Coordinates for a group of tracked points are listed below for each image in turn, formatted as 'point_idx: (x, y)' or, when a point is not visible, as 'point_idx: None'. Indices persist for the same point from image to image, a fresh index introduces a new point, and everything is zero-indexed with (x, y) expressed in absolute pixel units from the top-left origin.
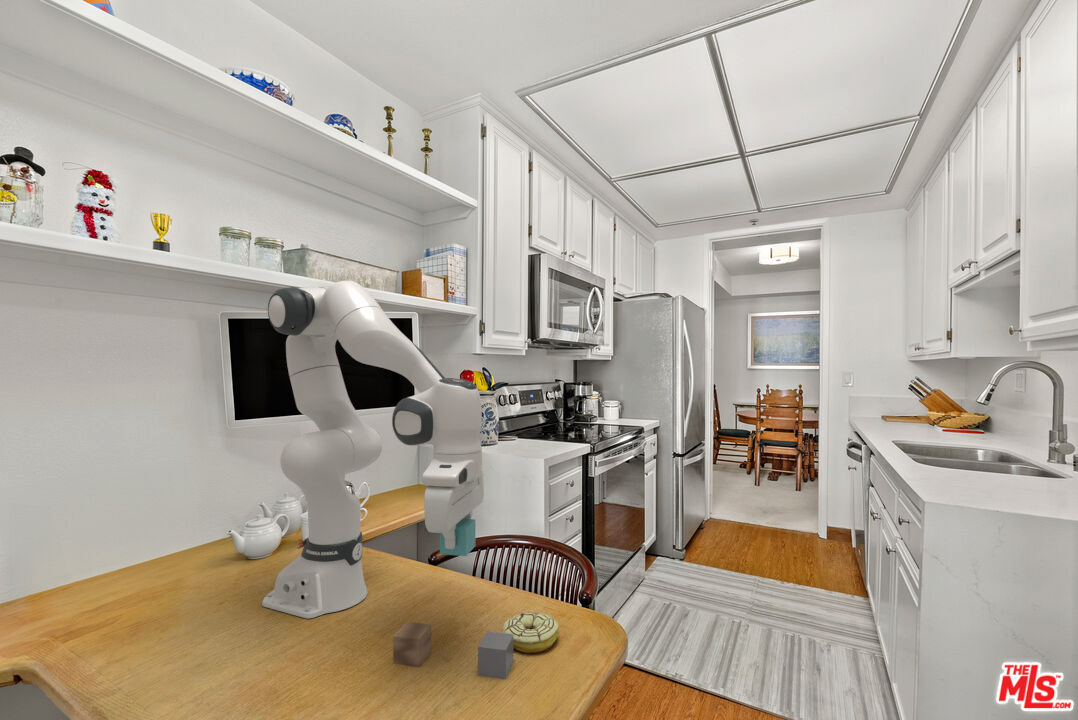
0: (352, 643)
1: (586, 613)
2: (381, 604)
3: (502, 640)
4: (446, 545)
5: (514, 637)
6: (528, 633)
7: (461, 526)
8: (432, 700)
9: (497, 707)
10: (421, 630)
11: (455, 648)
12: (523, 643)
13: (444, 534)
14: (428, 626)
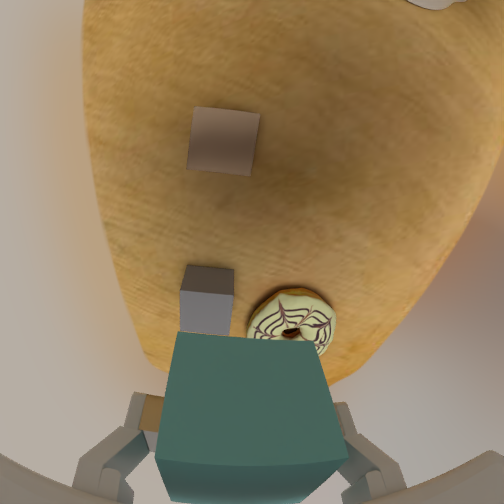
0: (263, 11)
1: (350, 371)
2: (405, 34)
3: (206, 323)
4: (132, 403)
5: (255, 320)
6: None
7: (188, 497)
8: (120, 213)
9: (130, 299)
10: (223, 161)
11: (259, 210)
12: (247, 329)
13: (100, 447)
14: (242, 172)
